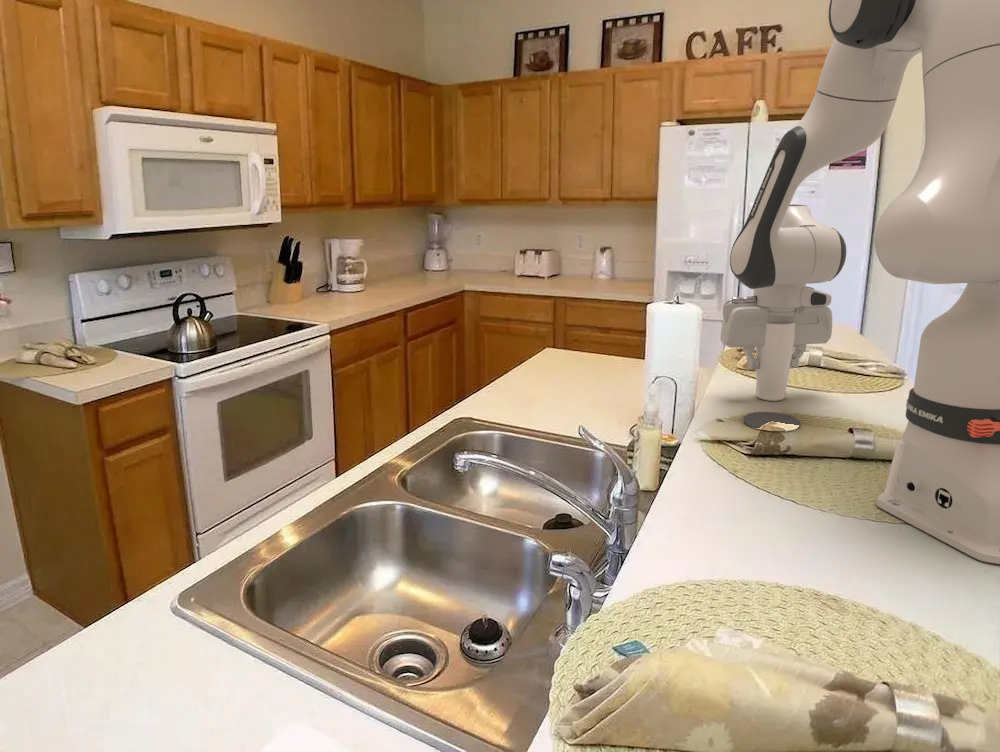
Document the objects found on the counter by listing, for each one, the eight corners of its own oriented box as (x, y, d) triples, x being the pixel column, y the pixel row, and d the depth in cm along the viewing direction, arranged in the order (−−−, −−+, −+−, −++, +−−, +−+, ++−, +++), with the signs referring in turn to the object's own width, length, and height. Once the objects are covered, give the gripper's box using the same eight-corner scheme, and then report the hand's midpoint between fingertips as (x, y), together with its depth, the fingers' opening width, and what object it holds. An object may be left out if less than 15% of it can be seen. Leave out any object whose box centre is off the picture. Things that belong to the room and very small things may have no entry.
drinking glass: (792, 403, 128) (799, 324, 124) (754, 402, 129) (760, 324, 125) (785, 393, 134) (792, 317, 130) (749, 392, 136) (754, 317, 132)
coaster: (810, 430, 114) (810, 427, 114) (757, 433, 113) (757, 430, 113) (783, 413, 122) (783, 410, 122) (734, 416, 122) (734, 413, 121)
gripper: (731, 300, 123) (726, 374, 126) (840, 295, 124) (832, 369, 128) (717, 294, 129) (713, 366, 132) (821, 290, 130) (814, 361, 134)
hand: (772, 367), depth 130 cm, fingers closed on drinking glass, 6 cm apart
